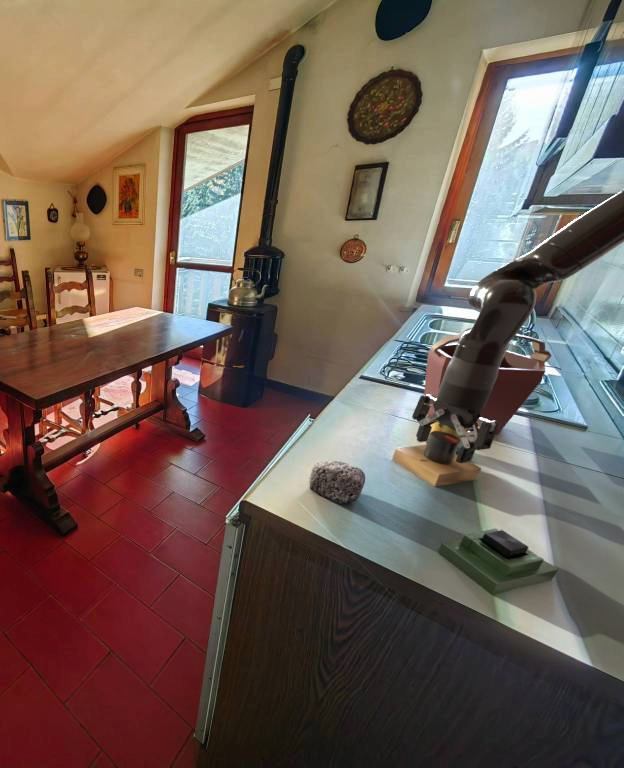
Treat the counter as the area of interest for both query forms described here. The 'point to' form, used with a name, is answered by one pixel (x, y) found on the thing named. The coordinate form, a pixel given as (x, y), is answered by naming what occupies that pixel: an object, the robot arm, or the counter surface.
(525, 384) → the bucket
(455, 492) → the counter surface
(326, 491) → the pumice stone
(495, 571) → the block
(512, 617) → the counter surface
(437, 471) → the flat wooden block
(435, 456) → the dark grey short cylinder
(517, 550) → the plate
